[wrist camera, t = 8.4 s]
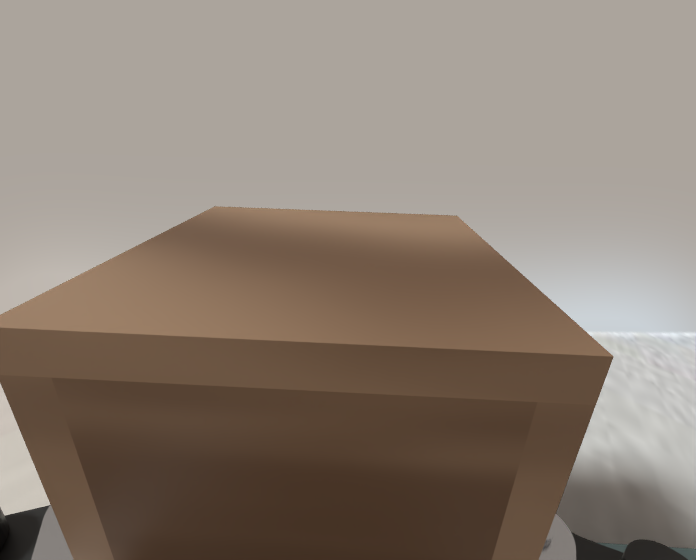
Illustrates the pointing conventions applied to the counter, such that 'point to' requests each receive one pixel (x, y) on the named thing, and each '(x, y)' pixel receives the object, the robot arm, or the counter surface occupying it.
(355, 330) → the walnut cover
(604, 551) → the robot arm
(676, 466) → the counter surface
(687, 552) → the teal mat
